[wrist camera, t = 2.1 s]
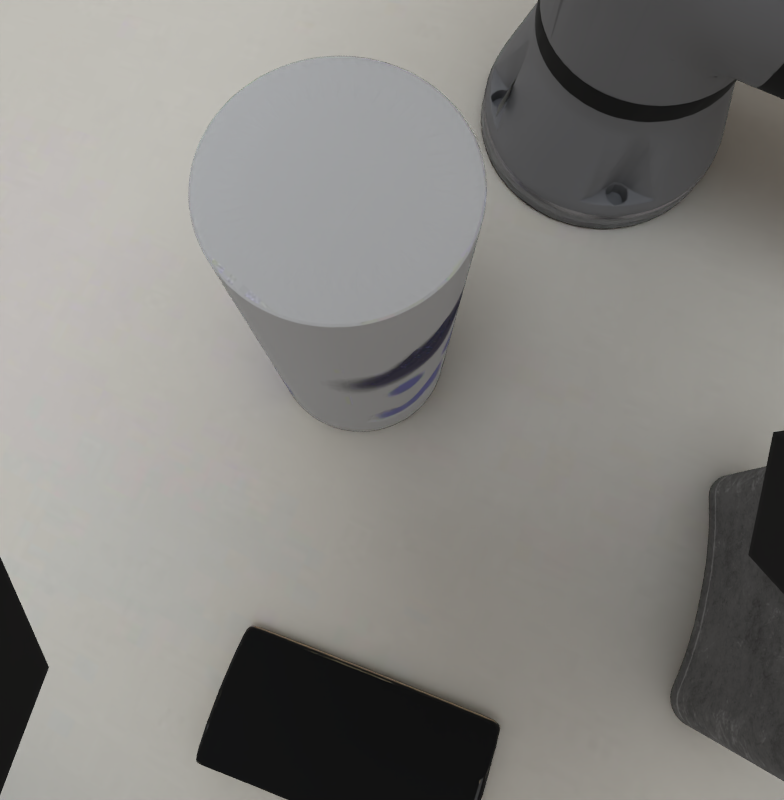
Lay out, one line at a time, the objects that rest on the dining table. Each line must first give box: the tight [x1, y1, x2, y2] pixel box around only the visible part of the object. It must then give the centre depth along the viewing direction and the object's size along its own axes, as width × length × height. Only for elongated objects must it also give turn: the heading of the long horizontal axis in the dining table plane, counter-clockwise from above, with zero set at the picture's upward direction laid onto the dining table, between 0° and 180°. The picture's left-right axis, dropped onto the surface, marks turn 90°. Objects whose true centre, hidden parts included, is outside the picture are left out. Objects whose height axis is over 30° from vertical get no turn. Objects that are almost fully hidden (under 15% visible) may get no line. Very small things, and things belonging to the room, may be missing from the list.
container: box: [189, 56, 487, 431], centre depth 33 cm, size 10×10×20 cm
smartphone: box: [196, 626, 500, 800], centre depth 37 cm, size 7×1×15 cm
